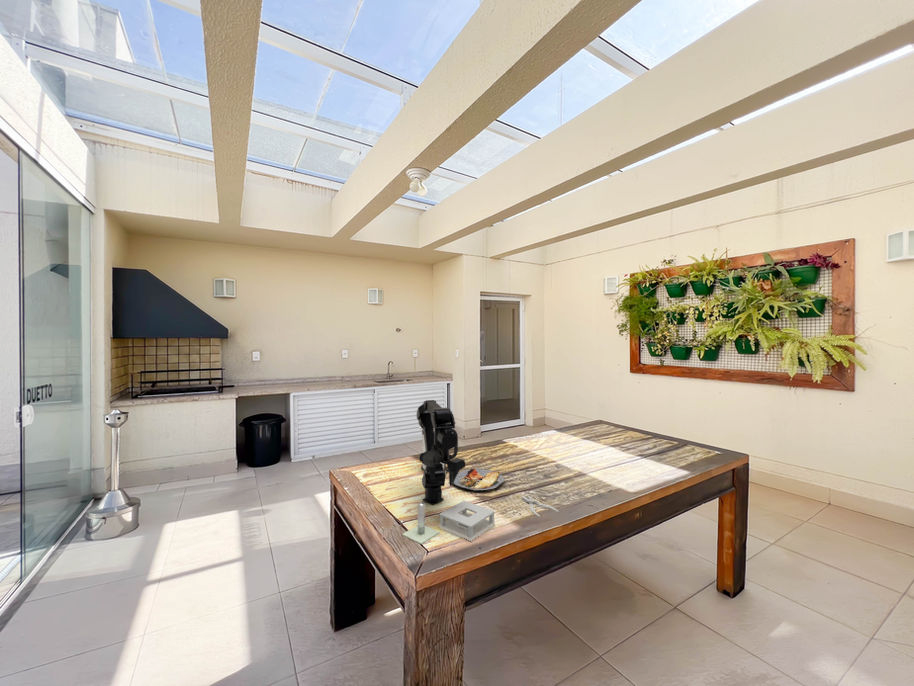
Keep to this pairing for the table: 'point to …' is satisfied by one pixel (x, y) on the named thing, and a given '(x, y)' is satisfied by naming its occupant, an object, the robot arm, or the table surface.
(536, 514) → the pliers
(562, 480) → the table surface
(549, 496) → the table surface
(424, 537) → the mat
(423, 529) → the shiny metal cylinder
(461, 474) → the food plate
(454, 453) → the coffee press
